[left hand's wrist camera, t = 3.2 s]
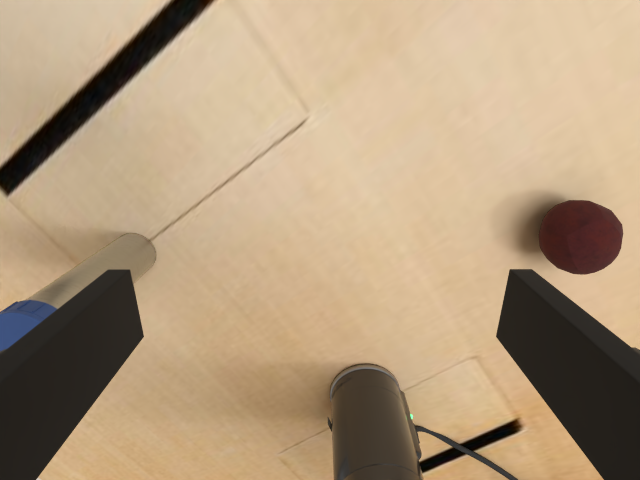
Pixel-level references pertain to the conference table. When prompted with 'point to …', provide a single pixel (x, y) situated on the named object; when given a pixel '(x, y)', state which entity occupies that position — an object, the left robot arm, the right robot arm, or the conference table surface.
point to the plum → (580, 236)
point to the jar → (101, 268)
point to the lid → (21, 320)
